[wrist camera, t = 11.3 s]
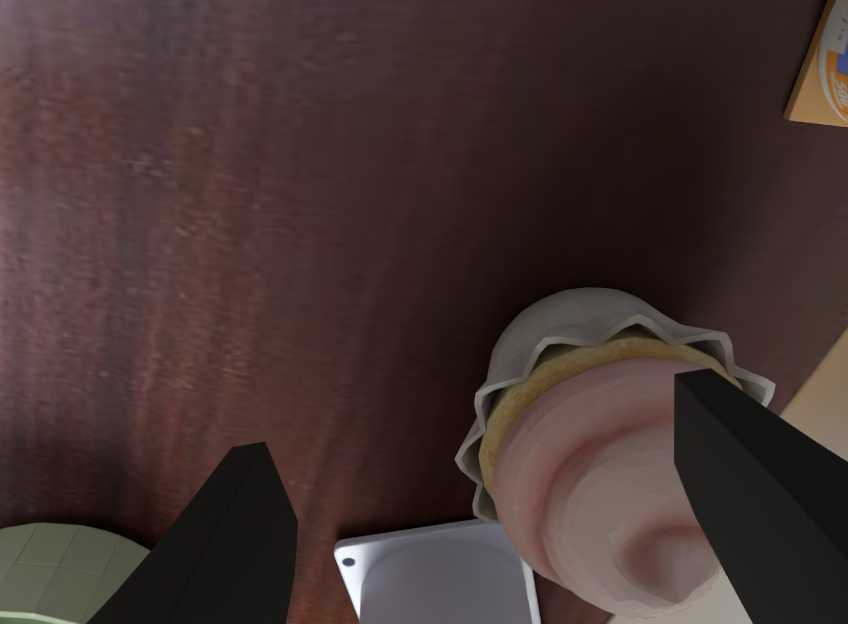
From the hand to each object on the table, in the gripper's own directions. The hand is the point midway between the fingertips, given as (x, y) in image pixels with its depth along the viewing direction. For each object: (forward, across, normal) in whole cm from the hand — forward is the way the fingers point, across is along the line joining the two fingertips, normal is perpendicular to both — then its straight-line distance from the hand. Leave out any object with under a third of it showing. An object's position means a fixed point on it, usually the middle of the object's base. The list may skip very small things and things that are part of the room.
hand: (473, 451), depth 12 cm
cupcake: (+11, -4, +6) cm, 13 cm away
